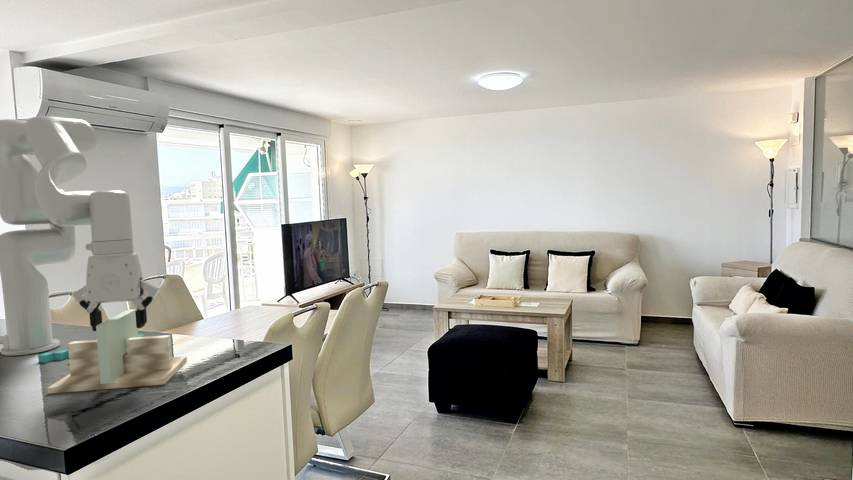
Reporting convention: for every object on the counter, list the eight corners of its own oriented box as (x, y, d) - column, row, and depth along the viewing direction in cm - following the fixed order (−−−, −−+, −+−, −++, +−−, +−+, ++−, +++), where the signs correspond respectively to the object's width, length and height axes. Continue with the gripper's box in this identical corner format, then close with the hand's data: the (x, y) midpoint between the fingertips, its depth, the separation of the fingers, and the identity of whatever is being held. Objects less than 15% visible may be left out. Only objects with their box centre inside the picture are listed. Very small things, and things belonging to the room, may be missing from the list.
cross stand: (47, 393, 105) (44, 353, 104) (86, 368, 121) (83, 333, 120) (164, 384, 109) (161, 345, 108) (186, 361, 124) (184, 327, 124)
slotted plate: (131, 360, 122) (127, 309, 121) (140, 359, 122) (136, 309, 121) (100, 384, 106) (95, 326, 105) (111, 383, 107) (106, 325, 106)
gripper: (59, 251, 107) (66, 335, 109) (150, 248, 110) (156, 329, 112) (77, 248, 115) (84, 327, 116) (162, 245, 118) (167, 321, 119)
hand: (119, 327), depth 114 cm, fingers open, 8 cm apart
